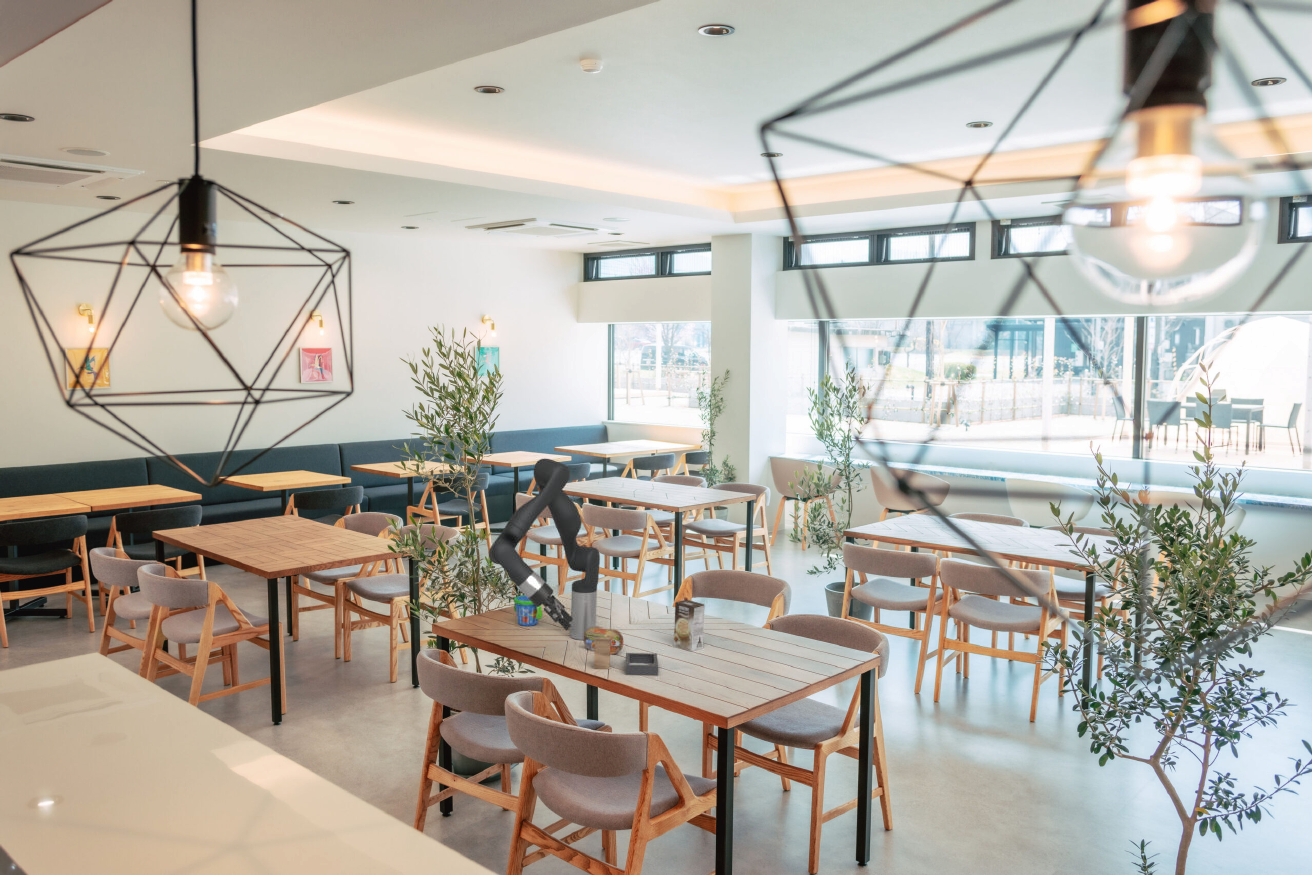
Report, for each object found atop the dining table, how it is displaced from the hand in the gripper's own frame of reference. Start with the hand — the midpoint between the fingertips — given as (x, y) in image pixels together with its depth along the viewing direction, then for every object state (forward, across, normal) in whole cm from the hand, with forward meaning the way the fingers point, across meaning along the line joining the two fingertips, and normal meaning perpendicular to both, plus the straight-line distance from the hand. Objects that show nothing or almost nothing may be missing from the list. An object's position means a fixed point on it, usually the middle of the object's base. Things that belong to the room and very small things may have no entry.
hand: (570, 624), depth 300 cm
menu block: (+18, 0, +2) cm, 18 cm away
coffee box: (+39, +26, -19) cm, 50 cm away
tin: (+18, +18, +2) cm, 25 cm away
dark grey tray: (+27, 0, -7) cm, 28 cm away
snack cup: (-4, +52, +24) cm, 57 cm away
